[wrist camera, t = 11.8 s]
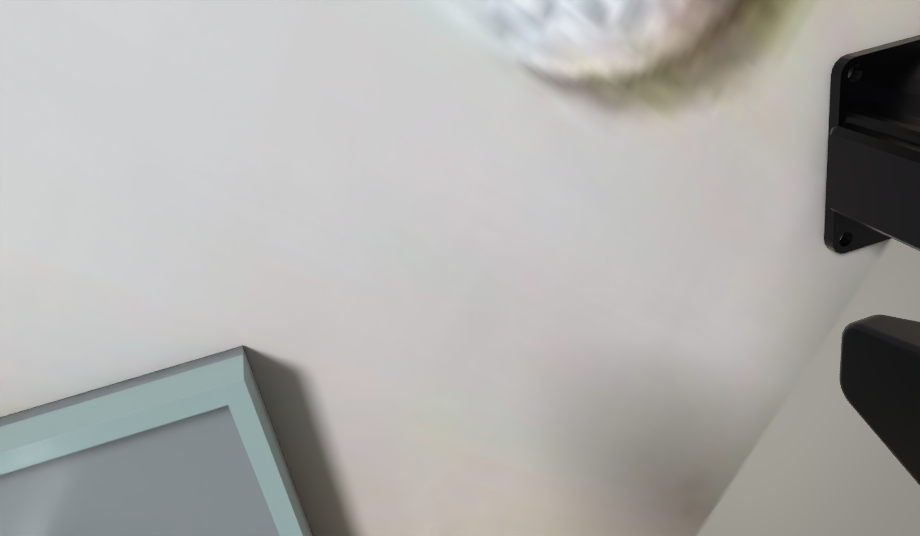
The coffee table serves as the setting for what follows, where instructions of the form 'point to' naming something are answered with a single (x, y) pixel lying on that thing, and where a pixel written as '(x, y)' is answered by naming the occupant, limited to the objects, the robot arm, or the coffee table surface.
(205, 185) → the coffee table surface
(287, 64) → the coffee table surface
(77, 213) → the coffee table surface
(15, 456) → the tray
